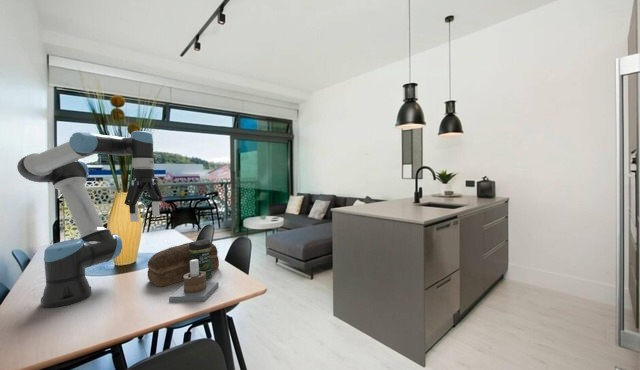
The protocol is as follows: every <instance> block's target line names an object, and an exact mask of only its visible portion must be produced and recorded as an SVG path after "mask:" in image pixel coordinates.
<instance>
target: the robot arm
mask: <svg viewBox="0 0 640 370" xmlns="http://www.w3.org/2000/svg"><path fill="white" fill-rule="evenodd" d="M96 154H98V155H113V156H116V157H117V156H118V157H119V156H120V157H123V156H132V157H131V159H132V160H131V162H132V168H133V170H132V177H133V179H134V180H133V179H132V180H131V179H130V181H129V187H128V190H127V193H126V197H125V199H124V205H126V206H128V207H129V210H128V211H129V214H130V215H129V216H130V222H137V223H138V222H139V205H138V204H137V203H138V201H139V199H140V198H141V195H142V193H144V192H147V193H148V194H149V197H150V198H151V199H152V201H151V206H152V208H151V210H152V212H151V213H152V217H160V215H161V214H160V202H162V200H163V196H162V193H161V190H160V187H159V184H158V180H157V179H153V178H155V169H154V168H155V163H154V162H155V161H154V160H155V159H154V157H155V155H154V139H153V133H151V132H149V131H143V130H134V131H131V134H130V136H129V137H128V136H127V137H123V136H114V135H105V134H100V133H99V134H96V133H92V132H82V131H81V132H78V131H77V132H75V133H73V134H72V135H71V136H70V137H69V141H67V142H64V143H62V144H59V145H57V146H54V147H53V148H50V149H47V150H45V151H42V152H40V153H38V152H37V153H30V154H27V155H25V156H24V157H22V158H21V159H20V160H19V161H18V162H17V165H16V166H17V171H18V173H19V175H20V176H21V177H22V178H24V179H26V180H29V181H31V182H34V183H52V185H53V187H54V189H55V190H58V191H60V193H61V194H62V197H63V199H64V201H65V203H66V206H67V208H68V210H69V212H70V214H71V217H72V218H73V219H72V220H73V221H74V225H75V226H76V228H77V230H78V232H79V235H80V237H79V238H72V239H68V240H61V241H59V242H56V243H52V244H51V245H49V246H47V247H46V249H44V255H43V261H44V271H45V272H44V273H45V275H44V277H45V286H44V291H43V294H42V296H41V298H40V306H41V307H42V308H44V307H47V308H48V309H52V308H51V307H53V308H59V307H64V306H68V305H72V304H74V303H78V302H81V301H83V300H86V299H87V298H89V297H90V296H91V295H92V290H93V289H92V286H91V285H90V283H89V281H88V279H87V277H86V269H87V268H89V267H94V266H96V265H100V264H103V263H107V262H110V261H113V260H115V259H117V258H118V257H119V256H120V255H121V253H122V249H123V241H122V238H121V236H120V235H118V234H117V233H116V234H115V233H112V232H111V230H110V229H109V228H107V227H105V226H104V225H103V221H102V220H101V218H100V216H99V214H98V212H97V209H96V207H95V205H94V203H93V201H92V198H91V196H90V194H89V192H88V189H87V187H86V185H85V184H86V183H87V179H88V177H89V175H90V174H89V172H90V169H89V168H88V165H87V164H86V162H85V161H84V160H82V159H84V158H88V157H90V156H93V155H96ZM47 308H46V309H47Z"/></svg>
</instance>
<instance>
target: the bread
mask: <svg viewBox="0 0 640 370" xmlns="http://www.w3.org/2000/svg"><path fill="white" fill-rule="evenodd" d="M189 244H190V242H188V243H187V242H186V243H183V244H180V245H176V246H175V245H174V246H171V247H168V248H165V249H163V250H160V251H158V252H156V253H155V254H153V255H152V256H151V257H150V258H149V260H148V261H147V268H148V269H147V279H148V281H150V283H151V284H152V285H155V286H157V287H160V288H162V287H167V286H169V285H172V284H175V283H178V282H182V281H184V277H183V276H184V275H185V274H187V273H190V261H191V255H190V252H189ZM218 253H219V251H218V248H217V247H216V244H214V243H212V242H211V250H210V262H211V269H212V271H214V270H218V269H219V265H220V261H219V256H218Z"/></svg>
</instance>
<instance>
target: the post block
mask: <svg viewBox="0 0 640 370" xmlns="http://www.w3.org/2000/svg"><path fill="white" fill-rule="evenodd" d="M197 276H199V265H198V260H197V259H195V260H191V261H190V277H197ZM218 287H219V281H206V288H205V289H204V290H202V291H200V292H197V293H185V292H184V284H183V285H181V287H179V288H178V289H177V290H176V291H174V292H173V293H172V294H171V295H169V296H168V302H171V303H173V302H175V303H176V302H206V300H208V298H209V297H210V296H211V295H212V293H214V292H215V291H216V289H217V288H218Z"/></svg>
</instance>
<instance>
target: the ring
mask: <svg viewBox="0 0 640 370" xmlns="http://www.w3.org/2000/svg"><path fill="white" fill-rule="evenodd" d="M183 277H184V280H183V285H184V292H185V293H197V292H200V291H202V290H204V289H205V288H206V282H207V279H206V272H204V271H199V276H197V277H190V273H187V274H185V275H184V276H183Z"/></svg>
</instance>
